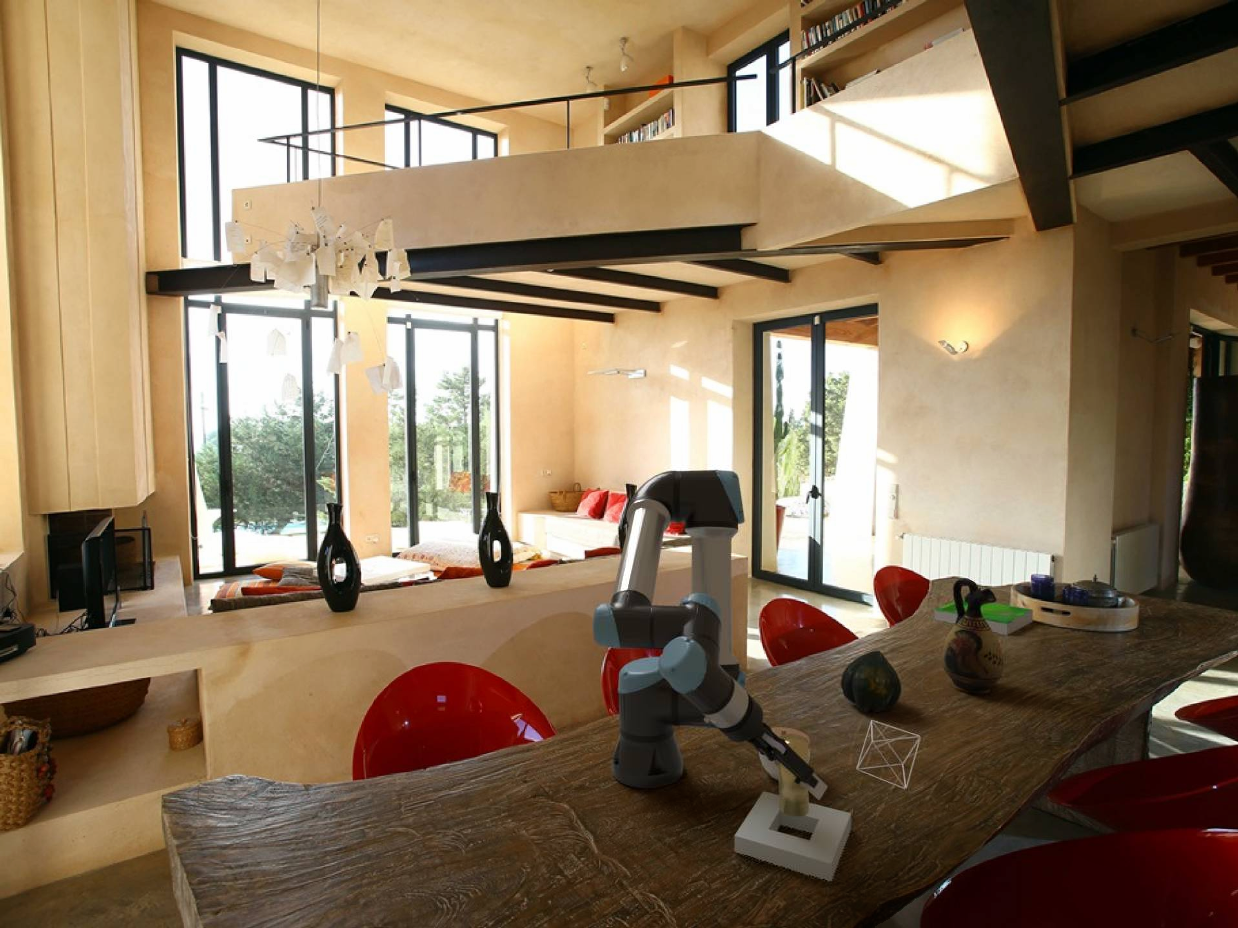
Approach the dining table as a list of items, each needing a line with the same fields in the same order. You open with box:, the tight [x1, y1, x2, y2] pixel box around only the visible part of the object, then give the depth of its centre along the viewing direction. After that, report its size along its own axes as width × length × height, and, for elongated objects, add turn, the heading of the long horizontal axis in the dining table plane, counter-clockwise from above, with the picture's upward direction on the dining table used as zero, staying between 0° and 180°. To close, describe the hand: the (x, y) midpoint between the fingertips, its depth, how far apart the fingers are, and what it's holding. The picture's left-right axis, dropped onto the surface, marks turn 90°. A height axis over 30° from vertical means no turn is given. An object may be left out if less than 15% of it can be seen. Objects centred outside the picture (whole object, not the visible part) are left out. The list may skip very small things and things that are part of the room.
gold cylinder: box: [778, 734, 810, 817], centre depth 115 cm, size 5×5×12 cm
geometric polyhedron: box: [856, 719, 922, 790], centre depth 138 cm, size 12×11×9 cm
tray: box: [933, 597, 1034, 636], centre depth 248 cm, size 25×25×5 cm
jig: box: [734, 791, 852, 882], centre depth 115 cm, size 16×16×3 cm
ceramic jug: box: [941, 577, 1005, 695], centre depth 184 cm, size 17×15×30 cm
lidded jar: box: [758, 726, 811, 781], centre depth 138 cm, size 11×11×9 cm
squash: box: [840, 650, 902, 713], centre depth 172 cm, size 14×15×15 cm
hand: (810, 784), depth 116 cm, fingers closed on gold cylinder, 5 cm apart
